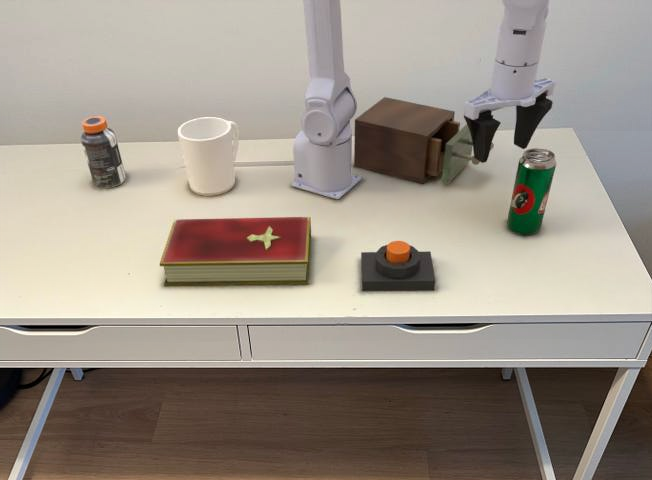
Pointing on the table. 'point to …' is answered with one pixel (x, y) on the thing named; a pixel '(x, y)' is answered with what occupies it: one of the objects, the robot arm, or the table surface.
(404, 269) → the button block
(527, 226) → the soda can
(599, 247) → the table surface
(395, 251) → the button
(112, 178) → the pill bottle
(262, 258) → the hardcover book
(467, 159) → the drawer
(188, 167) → the mug
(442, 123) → the cabinet
